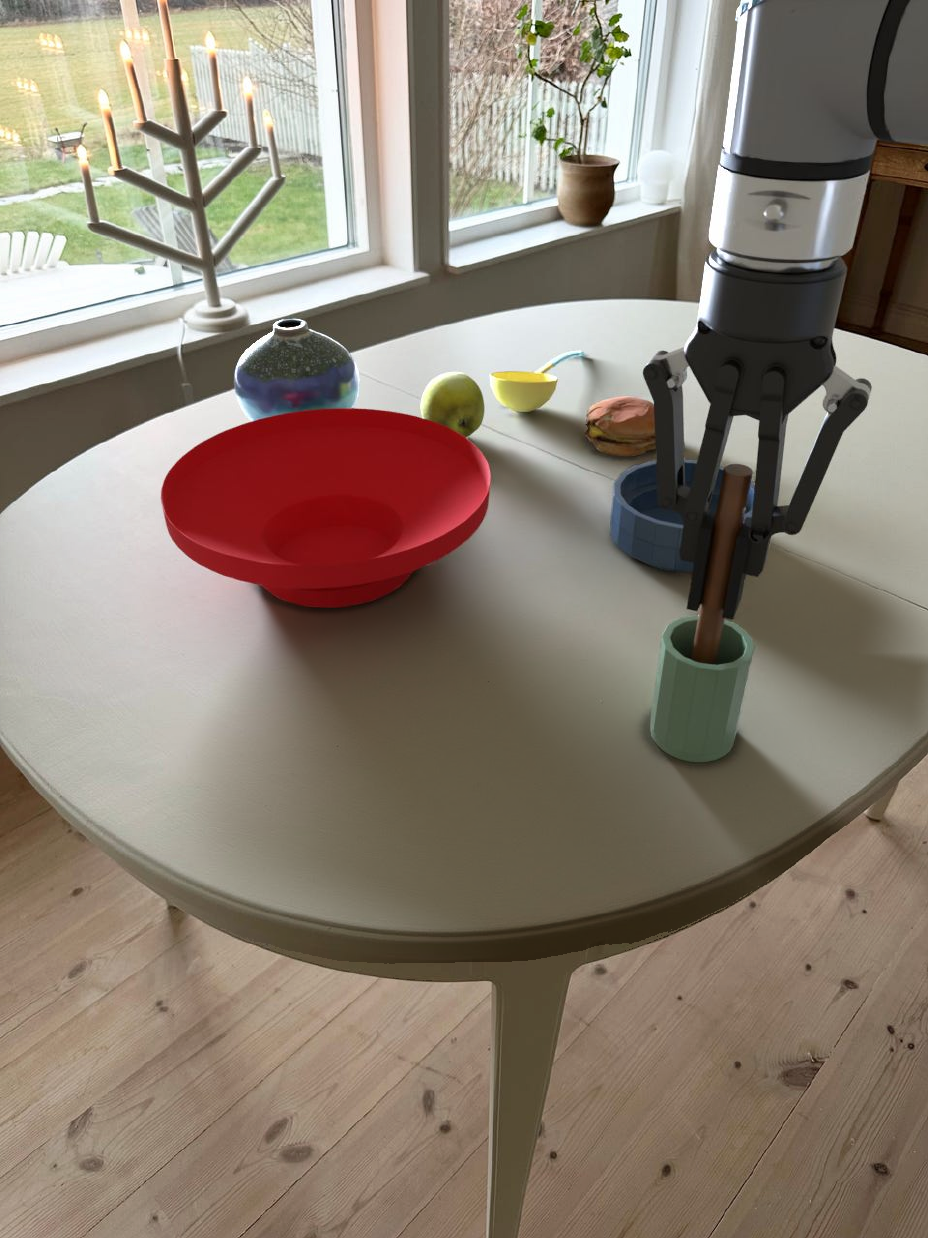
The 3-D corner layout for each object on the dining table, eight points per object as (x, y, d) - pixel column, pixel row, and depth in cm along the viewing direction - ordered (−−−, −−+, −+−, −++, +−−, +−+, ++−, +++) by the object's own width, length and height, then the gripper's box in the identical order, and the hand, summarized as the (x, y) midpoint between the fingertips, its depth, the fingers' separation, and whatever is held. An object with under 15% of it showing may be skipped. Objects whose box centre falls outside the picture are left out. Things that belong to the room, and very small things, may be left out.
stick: (711, 697, 71) (757, 461, 59) (702, 723, 68) (747, 483, 57) (688, 691, 71) (729, 456, 60) (678, 716, 69) (718, 477, 57)
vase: (222, 423, 120) (203, 320, 112) (325, 394, 127) (314, 296, 119) (277, 465, 110) (261, 356, 102) (386, 431, 117) (378, 326, 109)
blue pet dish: (764, 521, 97) (774, 474, 94) (736, 591, 87) (746, 541, 84) (632, 495, 102) (637, 449, 99) (590, 559, 92) (594, 510, 89)
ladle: (476, 412, 119) (479, 366, 117) (549, 385, 141) (553, 346, 139) (540, 421, 116) (543, 374, 113) (605, 392, 138) (609, 352, 135)
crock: (742, 718, 73) (762, 627, 67) (724, 773, 68) (744, 679, 63) (662, 696, 75) (675, 606, 70) (639, 748, 70) (652, 655, 65)
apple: (471, 418, 120) (471, 358, 115) (494, 447, 113) (495, 384, 108) (413, 426, 118) (410, 366, 113) (433, 456, 111) (431, 393, 106)
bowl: (164, 521, 99) (144, 435, 93) (431, 471, 108) (427, 389, 102) (206, 693, 76) (183, 593, 70) (540, 612, 85) (545, 517, 79)
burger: (675, 434, 115) (679, 399, 112) (648, 464, 108) (652, 428, 106) (601, 419, 119) (604, 384, 116) (571, 447, 112) (573, 411, 110)
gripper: (626, 256, 50) (595, 607, 64) (919, 287, 45) (816, 662, 59) (662, 224, 56) (626, 554, 70) (927, 249, 51) (831, 600, 64)
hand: (714, 603), depth 64 cm, fingers closed on stick, 2 cm apart
